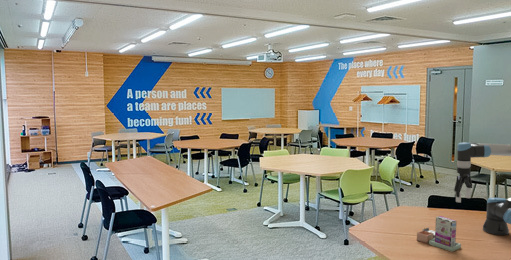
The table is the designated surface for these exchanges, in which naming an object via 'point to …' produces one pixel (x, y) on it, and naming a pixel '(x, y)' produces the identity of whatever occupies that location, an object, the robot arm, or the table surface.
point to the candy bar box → (445, 231)
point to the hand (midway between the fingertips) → (463, 199)
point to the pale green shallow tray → (457, 245)
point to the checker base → (427, 230)
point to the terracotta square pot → (424, 236)
